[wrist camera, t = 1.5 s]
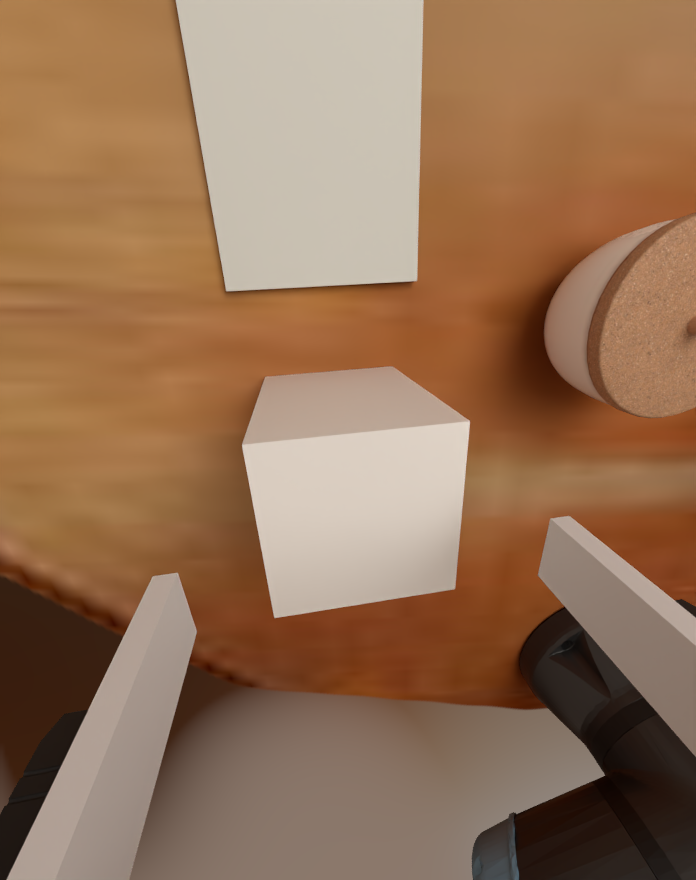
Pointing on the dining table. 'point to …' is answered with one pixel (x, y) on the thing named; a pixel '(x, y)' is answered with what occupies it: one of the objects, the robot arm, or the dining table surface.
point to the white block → (355, 488)
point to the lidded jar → (631, 321)
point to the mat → (309, 137)
